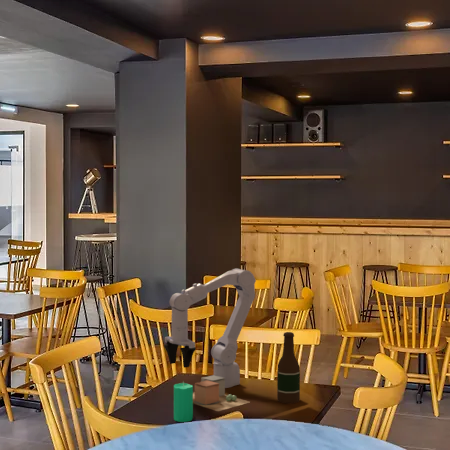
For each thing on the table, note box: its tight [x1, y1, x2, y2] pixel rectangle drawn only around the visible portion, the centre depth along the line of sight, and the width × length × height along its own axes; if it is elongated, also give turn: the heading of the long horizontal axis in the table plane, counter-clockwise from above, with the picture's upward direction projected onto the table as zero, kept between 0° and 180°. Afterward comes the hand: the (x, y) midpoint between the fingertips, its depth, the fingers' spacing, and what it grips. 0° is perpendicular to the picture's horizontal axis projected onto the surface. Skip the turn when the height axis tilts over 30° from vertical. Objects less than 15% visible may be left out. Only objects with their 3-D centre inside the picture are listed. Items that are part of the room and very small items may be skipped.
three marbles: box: [226, 393, 238, 401], centre depth 232 cm, size 4×4×2 cm
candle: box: [173, 380, 194, 423], centre depth 215 cm, size 6×6×12 cm
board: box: [193, 391, 251, 412], centre depth 233 cm, size 15×22×1 cm
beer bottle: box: [276, 331, 301, 404], centre depth 232 cm, size 8×8×24 cm
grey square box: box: [200, 374, 226, 396], centre depth 239 cm, size 6×6×6 cm
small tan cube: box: [194, 380, 219, 404], centre depth 231 cm, size 6×6×6 cm
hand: (179, 365), depth 245 cm, fingers open, 7 cm apart
